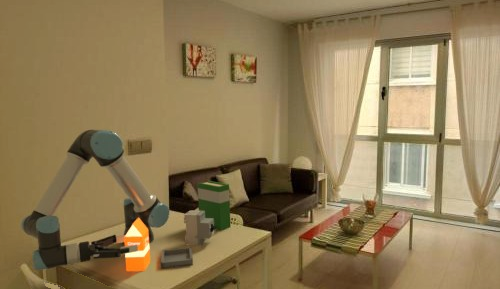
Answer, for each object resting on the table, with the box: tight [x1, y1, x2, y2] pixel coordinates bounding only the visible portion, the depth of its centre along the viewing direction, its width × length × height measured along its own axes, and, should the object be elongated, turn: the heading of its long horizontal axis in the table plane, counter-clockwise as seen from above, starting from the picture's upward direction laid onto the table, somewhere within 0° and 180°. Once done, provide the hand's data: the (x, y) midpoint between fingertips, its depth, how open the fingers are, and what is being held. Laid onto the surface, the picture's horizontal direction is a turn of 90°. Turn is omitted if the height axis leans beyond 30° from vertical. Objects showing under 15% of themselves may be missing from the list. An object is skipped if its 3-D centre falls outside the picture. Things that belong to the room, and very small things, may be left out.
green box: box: [197, 180, 231, 232], centre depth 204 cm, size 18×7×24 cm, turn 48°
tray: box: [160, 246, 194, 270], centre depth 160 cm, size 14×13×2 cm
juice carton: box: [124, 218, 151, 272], centre depth 154 cm, size 8×9×20 cm
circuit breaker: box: [183, 210, 216, 246], centre depth 179 cm, size 8×14×15 cm, turn 78°
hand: (134, 242), depth 153 cm, fingers open, 13 cm apart
